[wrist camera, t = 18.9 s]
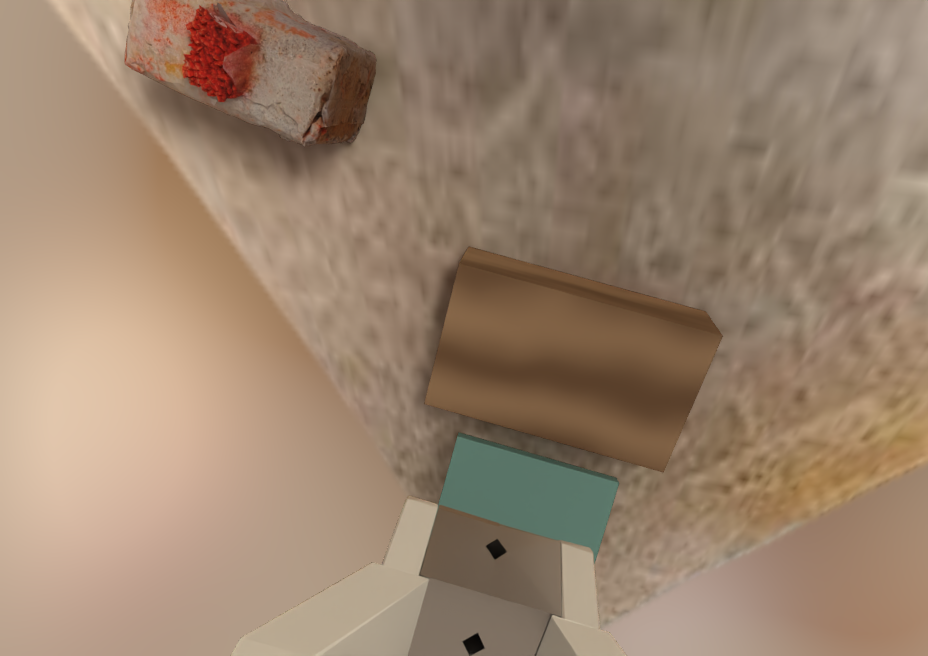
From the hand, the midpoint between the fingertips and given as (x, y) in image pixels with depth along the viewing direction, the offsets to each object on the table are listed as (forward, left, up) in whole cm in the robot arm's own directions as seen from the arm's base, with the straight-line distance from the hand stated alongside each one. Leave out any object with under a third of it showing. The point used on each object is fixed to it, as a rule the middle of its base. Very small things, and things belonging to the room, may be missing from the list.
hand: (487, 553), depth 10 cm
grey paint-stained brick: (+16, -13, -37) cm, 43 cm away
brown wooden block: (0, +11, -37) cm, 39 cm away
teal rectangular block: (+3, +18, -32) cm, 37 cm away
